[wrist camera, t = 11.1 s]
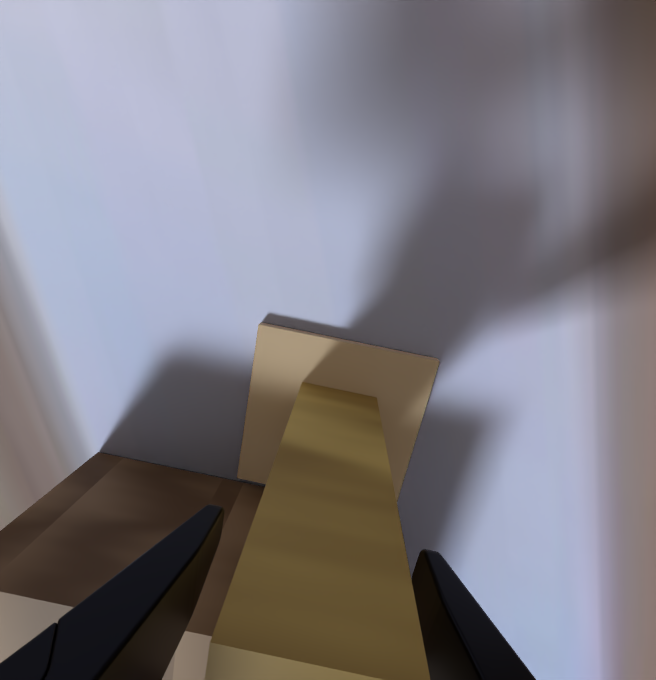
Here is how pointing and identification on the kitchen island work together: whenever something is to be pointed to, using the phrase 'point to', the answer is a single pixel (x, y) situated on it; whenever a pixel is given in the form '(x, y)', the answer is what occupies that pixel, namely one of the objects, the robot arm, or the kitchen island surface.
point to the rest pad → (334, 372)
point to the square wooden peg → (323, 559)
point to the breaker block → (115, 546)
